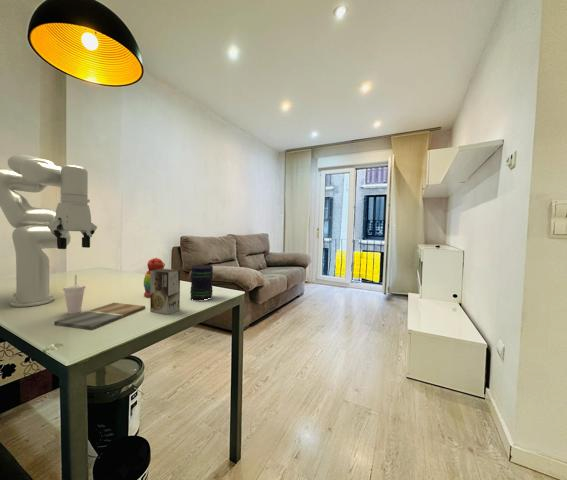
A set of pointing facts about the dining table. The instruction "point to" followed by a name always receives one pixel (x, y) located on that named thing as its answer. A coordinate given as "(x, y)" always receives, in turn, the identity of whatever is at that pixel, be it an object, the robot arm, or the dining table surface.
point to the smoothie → (74, 297)
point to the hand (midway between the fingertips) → (74, 247)
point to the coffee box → (164, 291)
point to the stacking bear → (152, 265)
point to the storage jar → (201, 282)
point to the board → (99, 316)
